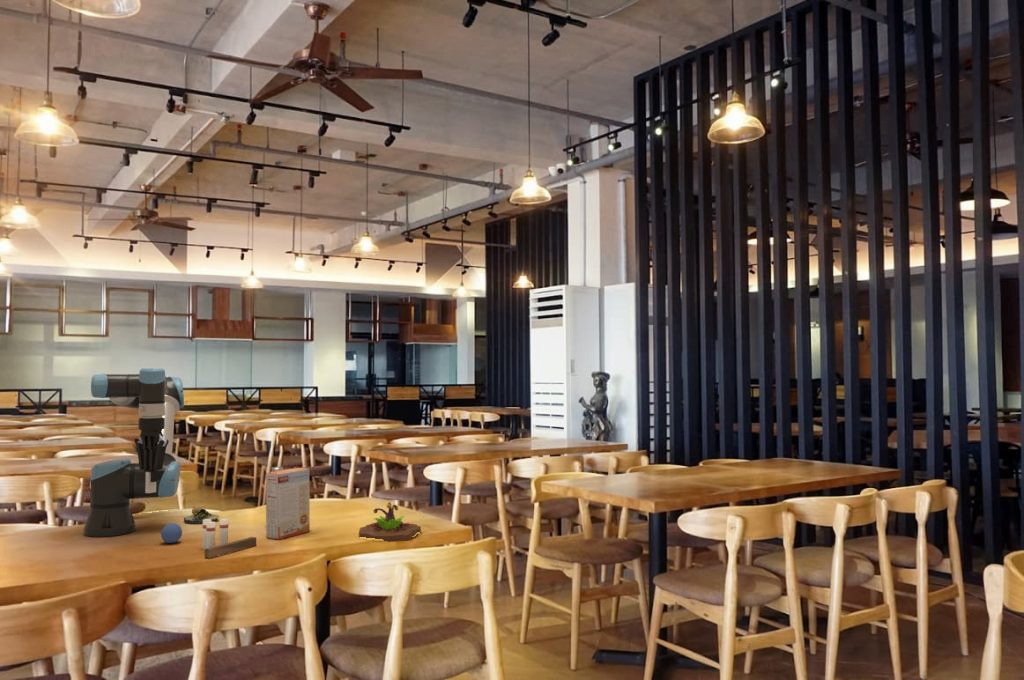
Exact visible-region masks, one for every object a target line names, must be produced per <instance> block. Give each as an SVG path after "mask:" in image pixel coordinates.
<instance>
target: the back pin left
mask: <svg viewBox="0 0 1024 680" xmlns="http://www.w3.org/2000/svg"><path fill="white" fill-rule="evenodd" d="M226 543H229V518H220V519H219V545H222V544H226ZM219 545H218V546H219Z"/></svg>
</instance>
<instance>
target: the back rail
mask: <svg viewBox="0 0 1024 680" xmlns="http://www.w3.org/2000/svg"><path fill="white" fill-rule="evenodd" d="M249 547H250V548H253V547H257V537H256V536H255V537H254V536H250V537H247V538H242V539H238V540H235V541H231V542H228V543H226V544H222V545H215V547H211V548H207V549H204V558H205V557H207V558H206V559H209V558H211V557H214V558H216V557H215V556H218V555H221V556H223V555H222V554H225V555H227V554H226V553H229V552H232V553H235V552H234V551H236V552H238V550H239V551H243V550H246V549H249ZM245 548H246V549H245ZM242 549H243V550H242ZM229 554H230V553H229ZM218 557H219V556H218ZM211 559H212V558H211Z"/></svg>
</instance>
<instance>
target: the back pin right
mask: <svg viewBox="0 0 1024 680" xmlns="http://www.w3.org/2000/svg"><path fill="white" fill-rule="evenodd" d="M206 531H207V535H206V549H207V548H211V547H215V546H216V521H211V522H207V527H206Z"/></svg>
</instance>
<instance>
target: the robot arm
mask: <svg viewBox="0 0 1024 680" xmlns="http://www.w3.org/2000/svg"><path fill="white" fill-rule="evenodd" d="M90 392H91V396H92V397H93V398H98V399H99V398H100V399H106V398H107V399H109V400H110V401H111V403H113V404H115V405H117V406H120V407H121V406H122V407H124V408H127V409H128V408H130V409H138V416H139V418H138V425H137V426H138V430H139V431H140V434H139V437H138V438H134V444H135V446H136V451H137V459H138V462H136V463H135V462H134V463H132V460H131V459H130V458H123V459H114V460H109V461H108V460H107V461H103V462H98V463H96V464H94V465H93V466H92V467H91V471H90V478H89V481H90V497H89V498H90V500H89V501H90V505H89V506H90V507H89V513H88V515H87V518H86V521H85V524H84V526H83V535H84V536H87V537H94V538H95V537H96V538H97V537H102V538H103V537H114V536H122V535H126V534H129V533H130V534H131V533H133V532H135V531H136V521H135V518H134V515H133V513H132V510H131V507H130V504H131V500H133V499H134V500H135V499H136V500H138V499H153V498H157V499H158V498H159V499H162V498H169V497H173V496H175V495H176V493H177V491H178V489H179V483H180V477H181V476H180V475H181V462H179V461H177V460H176V458H175V457H174V455H173V446H174V429H175V427H174V426H175V415H176V414H178V412H179V411H180V409H182V408H184V406H185V397H184V396H185V395H184V386H183V382H182V379H181V378H180V377H177V376H176V377H174V376H167V377H166V370H165V369H164V368H161V367H157V368H156V367H155V368H153V367H151V368H150V367H149V368H145V367H144V368H141V369H139V373H130V374H129V373H127V374H126V373H120V374H118V373H117V374H115V373H113V374H112V373H111V374H108V373H101V374H94V375H93V376H92V377H91V382H90Z"/></svg>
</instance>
